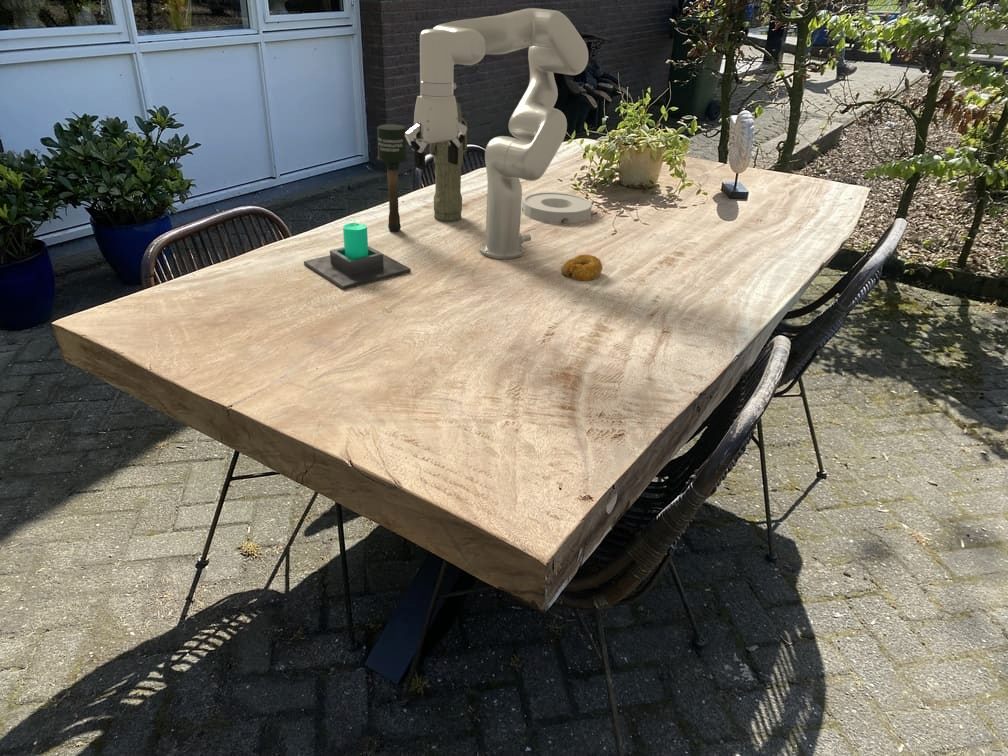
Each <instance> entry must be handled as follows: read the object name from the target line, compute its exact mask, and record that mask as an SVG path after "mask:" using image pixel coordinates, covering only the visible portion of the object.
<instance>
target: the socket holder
mask: <svg viewBox="0 0 1008 756" xmlns="http://www.w3.org/2000/svg"><path fill="white" fill-rule="evenodd" d="M303 265H304V266H306V267H307V268H308V269H310V270H312V271H313V272H315V273H317V275H319V276H321V277H323V278H324V279H326V280H327V281H329V282H331V283H332V284H334V285H335V286H336V287H338V288H340V289H341V290H343V291H344V290H349V289H352V288H356V287H358V286H359V287H360V286H364V285H367V284H371V283H376V282H379V281H383V280H387V279H390V278H394V277H397V276H402V275H406V274H410V273H411V272H412V268H410V267H408V266H406V265H404V264H402V263H401V262H399V261H397V260H395V259H394V258H392V257H390V256H388V255H386V254H385V253H382V252H380V251H379V250H376V249H374V248H373V247H371V246H369V245H368V256H365V257H360V258H356V259H352V260H351V259H349V258H348V257H346V256H345V248H344V246H343V247H340V248H334V249H330V250H329V255H326V256H322V257H316V258H311V259H307V260H304V261H303Z"/></svg>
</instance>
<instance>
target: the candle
mask: <svg viewBox="0 0 1008 756" xmlns="http://www.w3.org/2000/svg"><path fill="white" fill-rule="evenodd" d="M342 229H343V230H342V231H343V244H344V245H343V247H344V248H345V256H346V257H348V258H349V259H351V260H352V259H356V258H360V257H365V256H368V246H369V239H368V227H367V225H366V224H365V223H359V222H356V220H354V221H353V222H350V223H346V224H345V225H343V228H342Z"/></svg>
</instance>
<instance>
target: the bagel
mask: <svg viewBox="0 0 1008 756" xmlns="http://www.w3.org/2000/svg"><path fill="white" fill-rule="evenodd" d="M602 271H603V264H602V262H601V259H600V258H598V257H596V255H592V254H585V253H584V254H578V255H577V256H574V258H573V257H572V258H571V259H569V260H567V261H566V262H565V263H564V264H563V265H562V266H561V267H560V272H561V273H562V274H563V275H565V276H567V277H572V278H573V279H575V280H579V281H584V282H587V281H590V280H591V281H592V280H595V279H596V278H598V277H599V276H600V274H601V273H602Z"/></svg>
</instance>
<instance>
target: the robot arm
mask: <svg viewBox="0 0 1008 756" xmlns="http://www.w3.org/2000/svg"><path fill="white" fill-rule="evenodd" d="M526 48H528V54H527V55H528V56H527V57H528V67H529V83H528V86H527V88H526V90H525V92H524V94H523V95H522V96H521V99H520V100H519V102H518V104H517V105H516V107H515V109H514V110H513V112H512V114H511V116H510V117H509V121H508V131H509V133H510V134H511V135H512V136H513V137H512V136H505V135H499V136H496V137H493V138H492V139H490V140H489V141H488V143H487V144H486V146H485V150H484V163H485V168H486V177H487V197H486V214H485V215H486V217H485V242H483V243H482V244H481V245H480V246H479V252H480V253H481V255H484V256H485V257H487V258H491V259H497V260H510V259H511V260H513V259H516V258H519V257H520V258H521V256H523V255H524V253H525V248H524V247H523V246H522V244H524V243H525V242H530V241H532V235H531V234H529V233H528V234H527V233H526V234H524V235H522V233H521V232H520V231H521V216H522V215H521V214H522V199H523V187H522V184H521V180H524V181H529V182H534V181H538V180H539V179H540V178H542V177H543V176H544V174H545V173H546V171H547V170H548V168H549V166H550V164H551V162H553V160H554V159H555V156H556V154H557V153H558V151H559V149H560V147H561V146H562V144H563V142H564V140H565V137H566V135H567V129H568V122H567V118H566V115H565V114H564V112H562V110H560V109H558V108H555V105H556V102H557V100H558V96H559V93H558V86H557V83H556V80H555V76H554V75H555V73H556V74H562V75H568V76H576V75H579V74H581V73H583V72H584V71H585V69H586V67H587V66H588V63H589V50H588V47H587V44H586V41H585V40H584V39H583V38H582V36H581V34H580V33H579V32H578V30H577V29H576V26H574V24H573V22H571V20H570V19H569V18H568V17H567V15H565V14H564V13H562V12H561V11H559V10H555V9H554V10H553V9H545V8H535V7H534V8H532V7H529V8H528V7H527V8H524V9H520V10H514V11H511V12H506V13H502V14H498V15H490V16H483V17H476V18H475V17H474V18H468V19H467V18H466V19H459V20H454V21H449V22H445V23H444V22H443V23H440V24H438V25H435V26H434V27H433V28H427V29H423V30H422V31H421V32H420V34H419V86H420V87H419V89H420V90H419V95H417V96H416V101H415V105H414V115H413V126H412V127H410V128H409V129H408V130H407V131H406V133H405V137H406V142H407V143H408V146H409V147H410V148H411V149H412V151H414V165H415V166H414V167H415V168H416V169H418V170H421V171H425V170H426V153H425V152H424V150H425V149H426V148H427V147H426V146H427V145H428V144H429V143H437V142H445V141H448V142H449V143H450V145H449V146H448V162H449V163H452V164H454V165H457V164H458V148H459V147H460V146H461V142H462V141H463V140H464V135H465V133H466V131H467V132H468V126H467V127H466V126H465V125H463V124H462V122H461V123H459V122H458V114H457V105H456V102H457V99H456V96H455V95H454V90H456V89H457V84H456V82H454V79H455V77H454V75H455V74H454V69H455V68H454V67H455V65H463V66H473V65H476V64H478V63H479V62H481V61H482V60H483V59H484V57H485V56H486V55H505V54H510V53H513V52H515V51H519V50H523V49H526ZM458 129H459V132H458ZM520 179H521V180H520Z"/></svg>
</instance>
